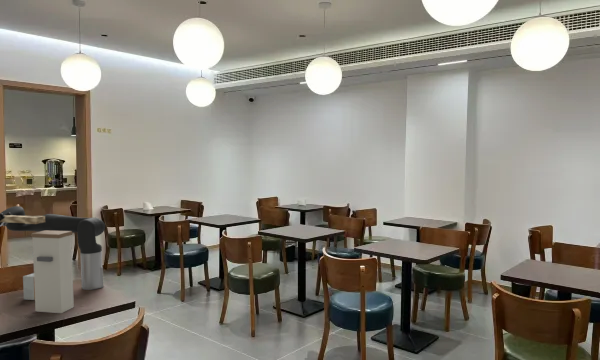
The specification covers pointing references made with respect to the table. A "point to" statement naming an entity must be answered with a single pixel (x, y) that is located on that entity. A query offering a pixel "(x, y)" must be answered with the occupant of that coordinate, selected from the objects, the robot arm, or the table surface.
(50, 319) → the table surface
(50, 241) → the white tall carton
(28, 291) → the small box
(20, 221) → the tan wooden plank
